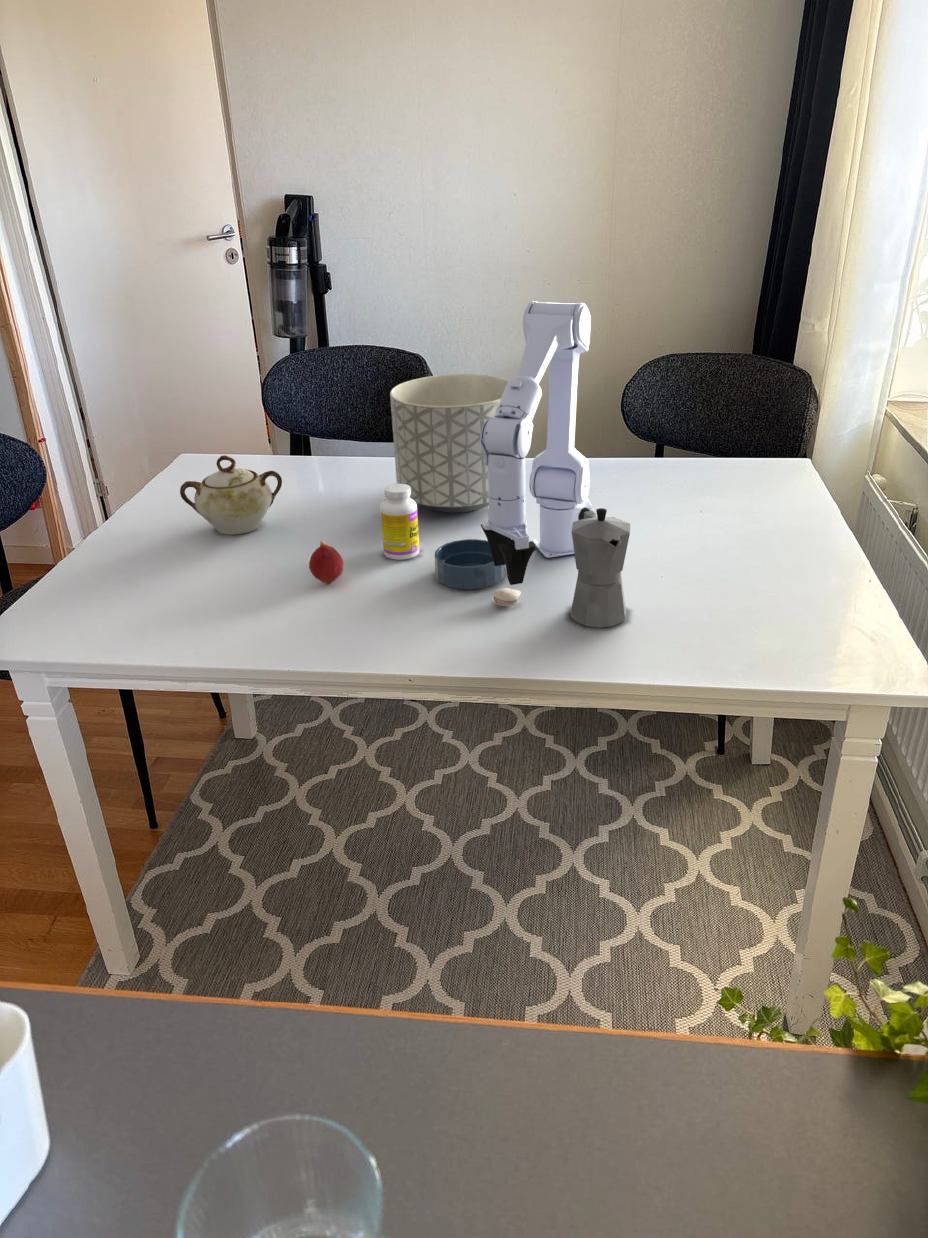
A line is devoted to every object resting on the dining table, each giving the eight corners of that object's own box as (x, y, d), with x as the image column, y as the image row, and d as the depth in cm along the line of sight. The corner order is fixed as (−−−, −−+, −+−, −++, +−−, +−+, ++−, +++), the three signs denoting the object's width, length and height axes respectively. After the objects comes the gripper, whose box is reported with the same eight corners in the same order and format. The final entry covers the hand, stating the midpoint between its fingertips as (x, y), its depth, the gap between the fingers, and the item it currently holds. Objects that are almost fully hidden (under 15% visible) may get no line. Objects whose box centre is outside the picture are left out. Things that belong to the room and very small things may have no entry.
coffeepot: (641, 629, 145) (648, 520, 137) (583, 638, 144) (586, 528, 135) (606, 587, 159) (610, 486, 150) (552, 595, 157) (553, 492, 149)
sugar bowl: (185, 547, 181) (171, 472, 174) (189, 519, 194) (176, 448, 187) (289, 535, 185) (279, 461, 178) (285, 508, 198) (276, 439, 191)
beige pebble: (488, 602, 156) (488, 588, 154) (512, 593, 158) (512, 580, 157) (505, 611, 152) (504, 597, 151) (528, 602, 155) (528, 589, 154)
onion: (350, 578, 166) (346, 536, 162) (336, 592, 161) (331, 549, 157) (321, 575, 168) (316, 533, 164) (305, 588, 163) (300, 546, 159)
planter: (543, 503, 195) (543, 387, 184) (450, 536, 181) (444, 414, 170) (465, 475, 212) (461, 367, 201) (374, 503, 198) (364, 390, 187)
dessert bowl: (492, 558, 171) (491, 535, 169) (514, 585, 161) (513, 561, 159) (428, 568, 169) (427, 545, 166) (446, 596, 158) (445, 571, 156)
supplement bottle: (414, 562, 171) (410, 495, 165) (379, 560, 172) (374, 493, 166) (423, 547, 177) (419, 482, 171) (389, 545, 178) (384, 480, 172)
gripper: (468, 482, 152) (471, 560, 158) (497, 513, 139) (498, 596, 146) (510, 477, 153) (511, 554, 160) (541, 507, 141) (541, 589, 147)
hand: (508, 573), depth 153 cm, fingers open, 7 cm apart
